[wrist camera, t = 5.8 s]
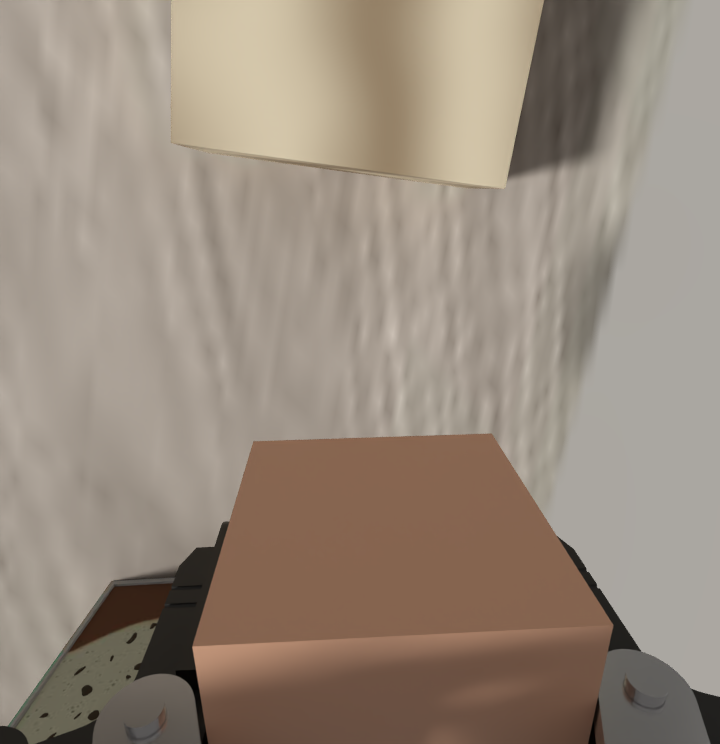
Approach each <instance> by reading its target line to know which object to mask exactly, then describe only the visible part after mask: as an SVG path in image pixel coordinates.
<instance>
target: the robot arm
mask: <svg viewBox="0 0 720 744" xmlns="http://www.w3.org/2000/svg"><path fill="white" fill-rule="evenodd" d="M228 525H229V522H223V523H222V525H221V528H220V531H219V535H218V538H217V541H216V544H215V547H202V548H196V549H195V550H194V551H193V552H192V553H191V554H190V555H189V556H188V557H187V559H186V560H185V561H184V562H183V563H182V564H181V565H180V566H179V569H178V571H177V574H176V576H175V579H174V581H173V584H172V586H171V587H172V588H171V591H169V594H168V597H167V599H166V602H165V607H164V608H163V609H162V612H161V614H160V617H159V619H158V622H157V625H156V627H155V630H154V632H153V635H152V637H151V640H150V642H149V645H148V647H147V650H146V653H145V655H144V658H143V660H142V663H141V665H140V668H139V670H138V673H137V675H136V678H135V680H134V682H132V683H130V684H128V685H127V686H125V687H124V688H122V689H121V690H120V691H119V692H117V693H116V694H115V695H114V696H113V697H112V698H111V699H110V700H109V701H108V703H107V704H106V705H105V706H104V708H103V709H102V711H101V712H100V714H99V716H98V718H97V719H96V720H94V721H93V722H91V723H89V724H87V725H85V726H82V727H80V728H78V729H75V730H72V731H69V732H67V733H64V734H61V735H58V736H55V737H53V738H50V739H47V740H44V741H41V742H38V743H36V744H208V739H207V733H206V727H205V721H204V715H203V709H202V703H201V697H200V690H199V684H198V678H197V672H196V666H195V660H194V654H193V648H192V646H193V643H194V639H195V636H196V632H197V629H198V626H199V622H200V619H201V616H202V612H203V609H204V606H205V602H206V599H207V596H208V592H209V589H210V586H211V582H212V579H213V575H214V572H215V569H216V565H217V562H218V559H219V555H220V552H221V549H222V545H223V542H224V539H225V535H226V532H227V529H228ZM557 537H558V536H557ZM558 539H559V540H560V542H561V544H562V545H563V547H564V548H565V550H566V551H567V553H568V555H569V556H570V558H571V559H572V561H573V562H574V564H575V566H576V567H577V569H578V570H579V572H580V573H581V575H582V577H583V578H584V580H585V581H586V583H587V584H588V586H589V588H590V589H591V591H592V592H593V594H594V595H595V597H596V599H597V600H598V602H599V603H600V605H601V606H602V608H603V610H604V611H605V613H606V614H607V616H608V617H609V619H610V621H611V622H612V624H613V629H612V634H611V639H610V643H609V648H608V653H607V657H606V662H605V667H604V671H603V676H602V681H601V685H600V690H599V695H598V699H597V704H596V709H595V713H594V718H593V723H592V727H591V732H590V737H589V741H588V744H720V697H717V696H714V695H709V694H705V693H702V692H698V691H696V690H693V689H691V688H690V686H689V685H688V684H687V682H686V681H685V680H684V679H683V678H682V677H681V676H680V675H679V674H678V673H677V672H676V671H675V670H674V669H673V668H671V667H670V666H669V665H667V664H666V663H664V662H663V661H661V660H659V659H657V658H656V657H654V656H651V655H649V654H646V653H643V652H641V650H640V649H639V647H638V646H637V644H636V643H635V641H634V640H633V638H632V637H631V636H630V634H629V633H628V631H627V629H626V628H625V626H624V625H623V623H622V622H621V620H620V619H619V617H618V616H617V614H616V613H615V611H614V610H613V608H612V607H611V605H610V604H609V602H608V600H607V599H606V597H605V596H604V594H603V593H602V591H601V590H600V589H598V588H597V584H596V582H595V581H594V579H593V578H592V576H591V575H590V573H589V572H587V571H586V567H585V566H584V564H583V563H582V561H581V560H580V558H579V556H578V555H577V553H576V552H575V550H574V549H573V548H572V547H570V546H569V545H567V544H566V543H565V542H564V541H563V540H561V539H560V538H559V537H558ZM0 744H29V743H28V741H27V738H26V737H25V735H24V734H23V733H22V732H21V731H19V730H18V729H16V728H13V727H7V726H0Z"/></svg>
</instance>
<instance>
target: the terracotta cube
mask: <svg viewBox="0 0 720 744" xmlns="http://www.w3.org/2000/svg"><path fill="white" fill-rule="evenodd" d="M612 629H613V624H612V622H611V621H610V619H609V617H608V616H607V614H606V613H605V611H604V610H603V608H602V606H601V605H600V603H599V602H598V600H597V599H596V597H595V595H594V594H593V592H592V591H591V589H590V588H589V586H588V584H587V583H586V581H585V580H584V578H583V577H582V575H581V573H580V572H579V570H578V569H577V567H576V566H575V564H574V562H573V561H572V559H571V558H570V556H569V555H568V553H567V551H566V550H565V548H564V547H563V545H562V544H561V542H560V540H559V539H558V537H557V536H556V534H555V533H554V531H553V529H552V528H551V526H550V525H549V523H548V522H547V520H546V518H545V517H544V515H543V514H542V512H541V511H540V509H539V507H538V506H537V504H536V503H535V501H534V500H533V498H532V496H531V495H530V493H529V492H528V490H527V489H526V487H525V485H524V484H523V482H522V481H521V479H520V478H519V476H518V474H517V473H516V471H515V470H514V468H513V467H512V465H511V463H510V462H509V460H508V459H507V457H506V456H505V454H504V452H503V451H502V449H501V448H500V446H499V445H498V443H497V441H496V440H495V438H494V437H493V435H492V434H466V435H436V436H405V437H375V438H344V439H314V440H283V441H253V445H252V448H251V451H250V455H249V458H248V462H247V465H246V468H245V472H244V475H243V478H242V482H241V485H240V488H239V492H238V495H237V498H236V502H235V505H234V508H233V512H232V515H231V519H230V522H229V525H228V529H227V532H226V535H225V539H224V542H223V545H222V549H221V552H220V555H219V559H218V562H217V565H216V569H215V572H214V575H213V579H212V582H211V586H210V589H209V592H208V596H207V599H206V602H205V606H204V609H203V612H202V616H201V619H200V622H199V626H198V629H197V632H196V636H195V639H194V643H193V646H192V648H193V654H194V660H195V666H196V672H197V678H198V684H199V690H200V697H201V703H202V709H203V715H204V721H205V727H206V733H207V739H208V744H588V741H589V737H590V732H591V727H592V723H593V718H594V713H595V709H596V704H597V699H598V695H599V690H600V685H601V681H602V676H603V671H604V667H605V662H606V657H607V653H608V648H609V643H610V639H611V634H612Z"/></svg>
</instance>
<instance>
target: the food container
mask: <svg viewBox="0 0 720 744" xmlns="http://www.w3.org/2000/svg"><path fill="white" fill-rule="evenodd" d="M174 579H175V578H158V579H140V580H123V581H111V583H110V584H109V585H108V587H107V588H106V590H105V591H104V592H103V594H102V595H101V597H100V598H99V599H98V601H97V602H96V604H95V605H94V606H93V608H92V609H91V611H90V612H89V613H88V615H87V616H86V618H85V619H84V620H83V622H82V623H81V625H80V626H79V627H78V629H77V630H76V632H75V633H74V634H73V636H72V637H71V639H70V640H69V641H68V643H67V644H66V646H65V647H64V648H63V650H62V651H61V653H60V654H59V655H58V657H57V658H56V660H55V661H54V662H53V664H52V665H51V667H50V668H49V669H48V671H47V672H46V674H45V675H44V676H43V678H42V679H41V681H40V682H39V683H38V685H37V686H36V687H35V689H34V690H33V692H32V693H31V694H30V696H29V697H28V699H27V700H26V701H25V703H24V704H23V706H22V707H21V708H20V710H19V711H18V713H17V714H16V715H15V717H14V718H13V720H12V721H11V722H10V724H9V725H8V727H13V728H16V729H18V730H19V731H21V732H22V733H23V734H24V735H25V737H26V738H27V741H28V743H29V744H36V743H38V742H41V741H44V740H47V739H50V738H53V737H55V736H58V735H61V734H64V733H67V732H69V731H72V730H75V729H78V728H80V727H82V726H85V725H87V724H89V723H91V722H93V721H94V720H96V719H97V718H98V716H99V714H100V712H101V711H102V709H103V708H104V706H105V705H106V704H107V703H108V701H109V700H110V699H111V698H112V697H113V696H114V695H115V694H116V693H117V692H119V691H120V690H121V689H122V688H124V687H125V686H127V685H128V684H130V683H132V682H134V680H135V678H136V675H137V673H138V670H139V668H140V665H141V663H142V660H143V658H144V655H145V653H146V650H147V647H148V645H149V642H150V640H151V637H152V635H153V632H154V630H155V627H156V625H157V622H158V619H159V617H160V614H161V612H162V609H163V608H164V607H165V602H166V599H167V597H168V594H169V591H171V588H172V587H171V586H172V584H173V581H174Z"/></svg>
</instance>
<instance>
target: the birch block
mask: <svg viewBox="0 0 720 744" xmlns="http://www.w3.org/2000/svg"><path fill="white" fill-rule="evenodd" d="M543 3H544V0H171V143H173V144H177V145H181V146H184V147H188V148H192V149H196V150H200V151H203V152H207V153H212V154H220V155H227V156H234V157H242V158H249V159H256V160H264V161H271V162H278V163H286V164H293V165H300V166H308V167H315V168H322V169H330V170H337V171H344V172H352V173H359V174H366V175H374V176H381V177H388V178H396V179H403V180H410V181H418V182H425V183H432V184H440V185H447V186H455V187H462V188H485V189H505V186H506V181H507V176H508V172H509V167H510V162H511V157H512V152H513V148H514V143H515V138H516V133H517V128H518V123H519V119H520V114H521V109H522V104H523V99H524V95H525V90H526V85H527V80H528V75H529V71H530V66H531V61H532V56H533V51H534V46H535V42H536V37H537V32H538V27H539V22H540V18H541V13H542V8H543Z"/></svg>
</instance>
